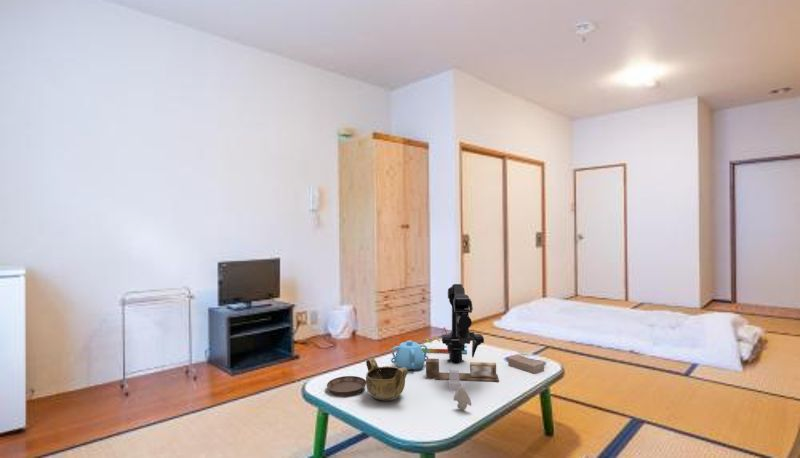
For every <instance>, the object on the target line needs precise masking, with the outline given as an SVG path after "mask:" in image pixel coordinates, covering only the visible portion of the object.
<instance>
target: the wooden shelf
mask: <svg viewBox="0 0 800 458" xmlns="http://www.w3.org/2000/svg"><path fill="white" fill-rule="evenodd" d="M425 359H426V361H425V379H428V380H429V379H432V380H434V381H449V372H444V371H443V372H442V371H441V372H440V359H439V358H429V357H428V358H427V357H426V358H425ZM459 382H481V383H482V382H484V383H485V382H486V383H488V382H489V383H490V382H491V383H499V382H500V379H499V375H498V373H496V378H492V377H470V372H469V373H468V372H459Z"/></svg>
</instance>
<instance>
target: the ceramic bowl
mask: <svg viewBox="0 0 800 458" xmlns="http://www.w3.org/2000/svg"><path fill="white" fill-rule="evenodd" d="M365 364H366V367H367V368H366V369H367V370H368V371H367V373H366V375H365V380H366V385H365V387H366V389H367V392H368V393H369V395H370V396H371V397H373V398H374V399H376V400H379V401H385V402H389V401H392V400H395V399H397V398H399V396H400V395H401V394H402V393H403V391H404V389H405V386H406V378H407V375H408V369H406V368H405V367H403V368H399V367H398V366H397V367H396V366H389V365H388V366H387V365H386V366H379V365H378V363H377V360H376V359H375V358H374V357H372V358H369V359H367V360H366V361H365Z"/></svg>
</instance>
